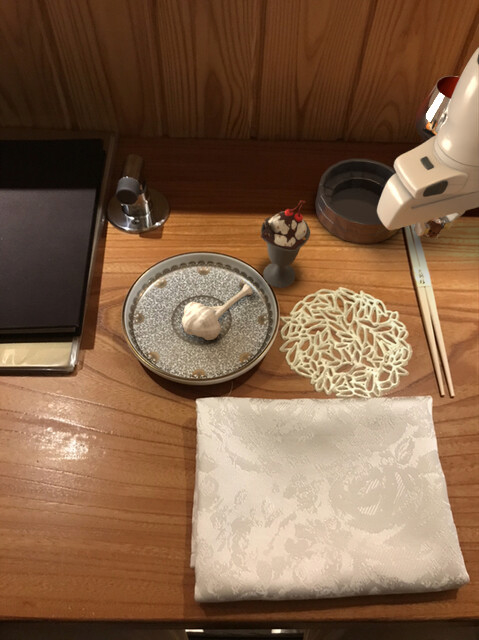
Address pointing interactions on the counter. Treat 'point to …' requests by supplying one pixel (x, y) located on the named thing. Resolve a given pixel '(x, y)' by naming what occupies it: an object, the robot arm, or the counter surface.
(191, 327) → the garlic bulb
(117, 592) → the counter surface
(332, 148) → the counter surface
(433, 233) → the chocolate
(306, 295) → the counter surface
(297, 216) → the sundae
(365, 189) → the bowl
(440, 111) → the wineglass
